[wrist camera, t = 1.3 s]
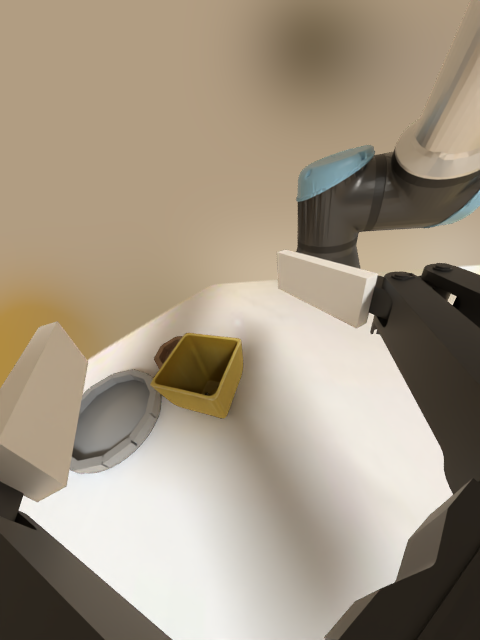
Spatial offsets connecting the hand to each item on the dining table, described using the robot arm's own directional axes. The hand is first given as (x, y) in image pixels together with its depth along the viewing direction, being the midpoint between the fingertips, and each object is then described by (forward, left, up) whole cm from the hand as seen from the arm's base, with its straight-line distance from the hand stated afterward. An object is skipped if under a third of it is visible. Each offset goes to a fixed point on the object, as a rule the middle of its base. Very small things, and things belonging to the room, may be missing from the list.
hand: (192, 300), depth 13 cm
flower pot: (0, -7, -21) cm, 22 cm away
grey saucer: (+14, -15, -21) cm, 29 cm away
